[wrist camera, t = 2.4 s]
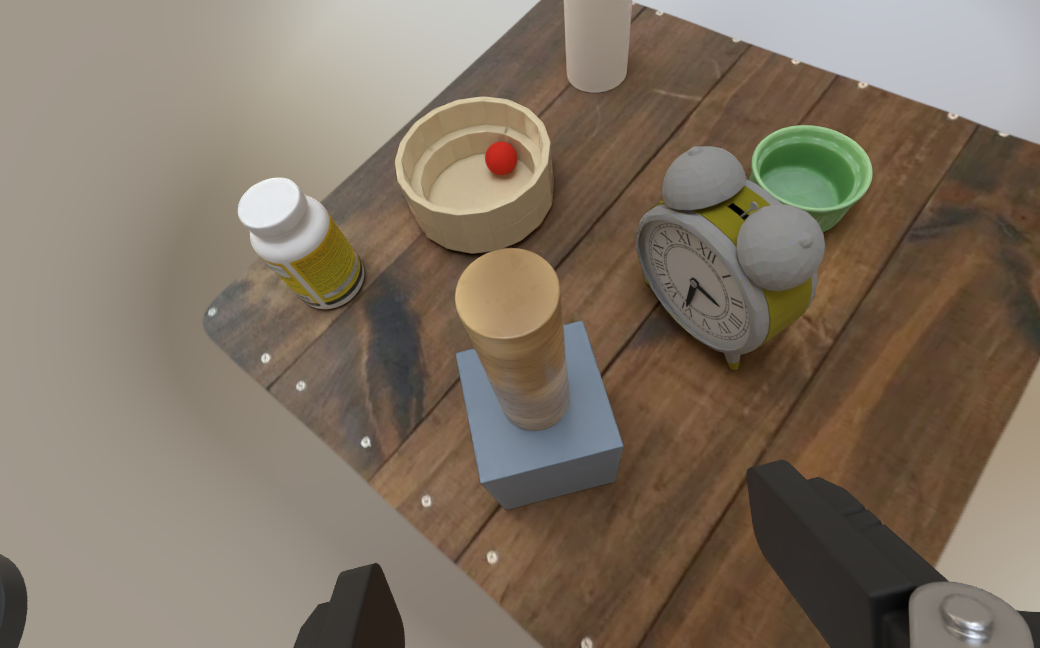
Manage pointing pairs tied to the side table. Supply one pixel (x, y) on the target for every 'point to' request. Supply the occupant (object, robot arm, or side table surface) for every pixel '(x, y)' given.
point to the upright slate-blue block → (544, 433)
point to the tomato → (501, 158)
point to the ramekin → (812, 171)
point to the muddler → (518, 333)
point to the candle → (597, 43)
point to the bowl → (476, 174)
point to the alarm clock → (727, 254)
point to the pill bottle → (301, 243)
